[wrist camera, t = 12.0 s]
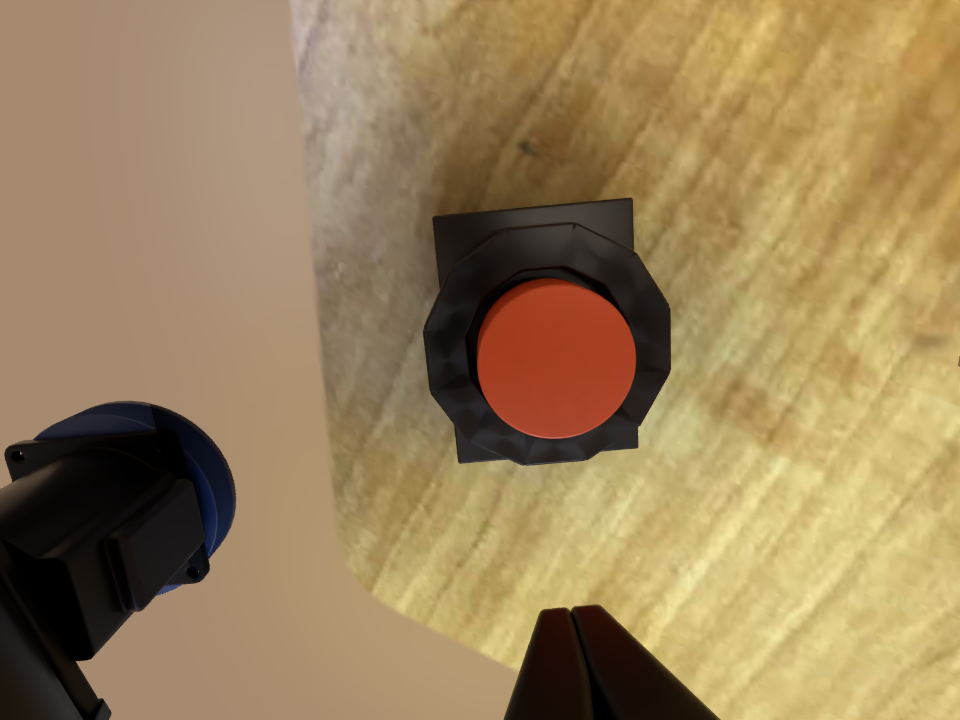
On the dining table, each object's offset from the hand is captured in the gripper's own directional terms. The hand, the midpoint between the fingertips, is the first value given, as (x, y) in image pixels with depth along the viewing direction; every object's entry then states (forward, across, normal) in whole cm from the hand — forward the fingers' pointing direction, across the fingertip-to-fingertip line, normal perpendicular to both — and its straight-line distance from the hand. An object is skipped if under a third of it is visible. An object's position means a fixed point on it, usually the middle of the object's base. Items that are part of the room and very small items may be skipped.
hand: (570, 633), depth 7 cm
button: (+9, -1, -2) cm, 9 cm away
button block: (+12, -1, -2) cm, 12 cm away
